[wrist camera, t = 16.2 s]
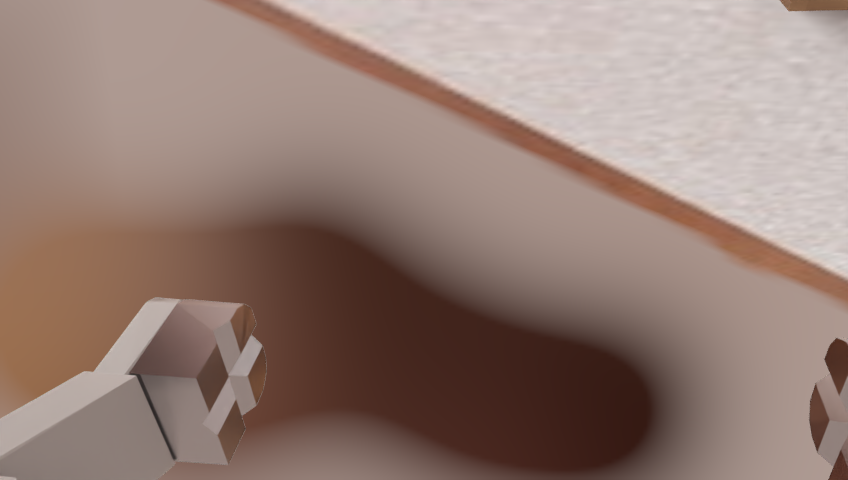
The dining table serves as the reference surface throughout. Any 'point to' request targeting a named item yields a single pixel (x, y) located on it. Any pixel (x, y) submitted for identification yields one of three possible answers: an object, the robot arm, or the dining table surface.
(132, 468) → the robot arm
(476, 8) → the dining table surface
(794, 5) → the walnut tray
